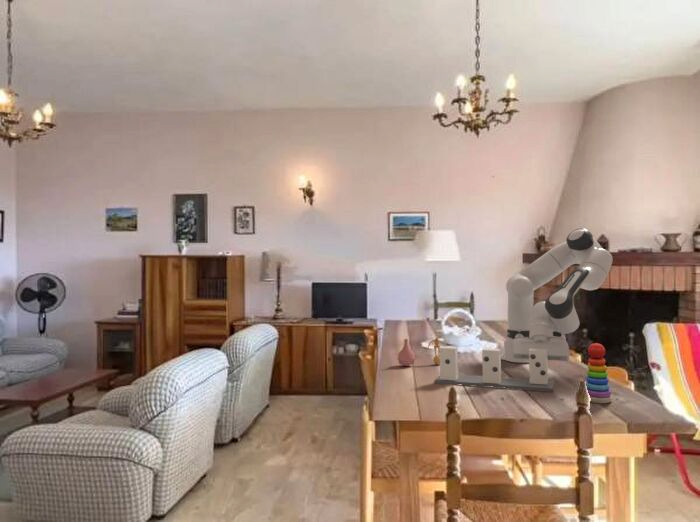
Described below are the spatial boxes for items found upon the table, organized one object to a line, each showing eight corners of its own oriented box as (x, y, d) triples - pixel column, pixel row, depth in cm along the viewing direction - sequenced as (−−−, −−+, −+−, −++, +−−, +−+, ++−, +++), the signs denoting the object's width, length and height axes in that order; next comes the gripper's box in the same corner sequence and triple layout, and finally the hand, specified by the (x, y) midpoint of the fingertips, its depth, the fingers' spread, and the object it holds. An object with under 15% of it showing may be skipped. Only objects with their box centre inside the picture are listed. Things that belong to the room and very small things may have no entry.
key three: (530, 380, 189) (529, 348, 189) (548, 382, 187) (547, 349, 187) (529, 383, 185) (528, 350, 185) (547, 384, 183) (546, 351, 183)
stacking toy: (581, 397, 170) (579, 341, 171) (606, 397, 170) (604, 341, 170) (589, 404, 163) (588, 345, 163) (616, 404, 162) (614, 345, 162)
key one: (442, 377, 199) (442, 346, 199) (458, 378, 197) (457, 347, 197) (440, 379, 195) (439, 348, 195) (455, 380, 193) (454, 348, 193)
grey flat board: (442, 376, 206) (442, 373, 206) (554, 384, 189) (554, 381, 189) (434, 383, 196) (434, 380, 196) (552, 392, 178) (552, 388, 178)
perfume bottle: (394, 365, 230) (394, 339, 230) (408, 363, 234) (408, 337, 234) (404, 368, 223) (403, 341, 223) (418, 366, 227) (417, 339, 227)
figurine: (428, 365, 228) (428, 338, 228) (427, 363, 234) (427, 336, 234) (447, 365, 227) (447, 338, 227) (446, 362, 233) (445, 336, 233)
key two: (484, 380, 192) (483, 348, 192) (501, 381, 190) (500, 348, 190) (482, 382, 189) (481, 350, 189) (499, 383, 186) (498, 350, 186)
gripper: (512, 332, 202) (510, 361, 193) (569, 333, 193) (569, 364, 184) (514, 341, 206) (512, 370, 197) (569, 343, 197) (569, 374, 189)
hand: (540, 367), depth 191 cm, fingers closed
